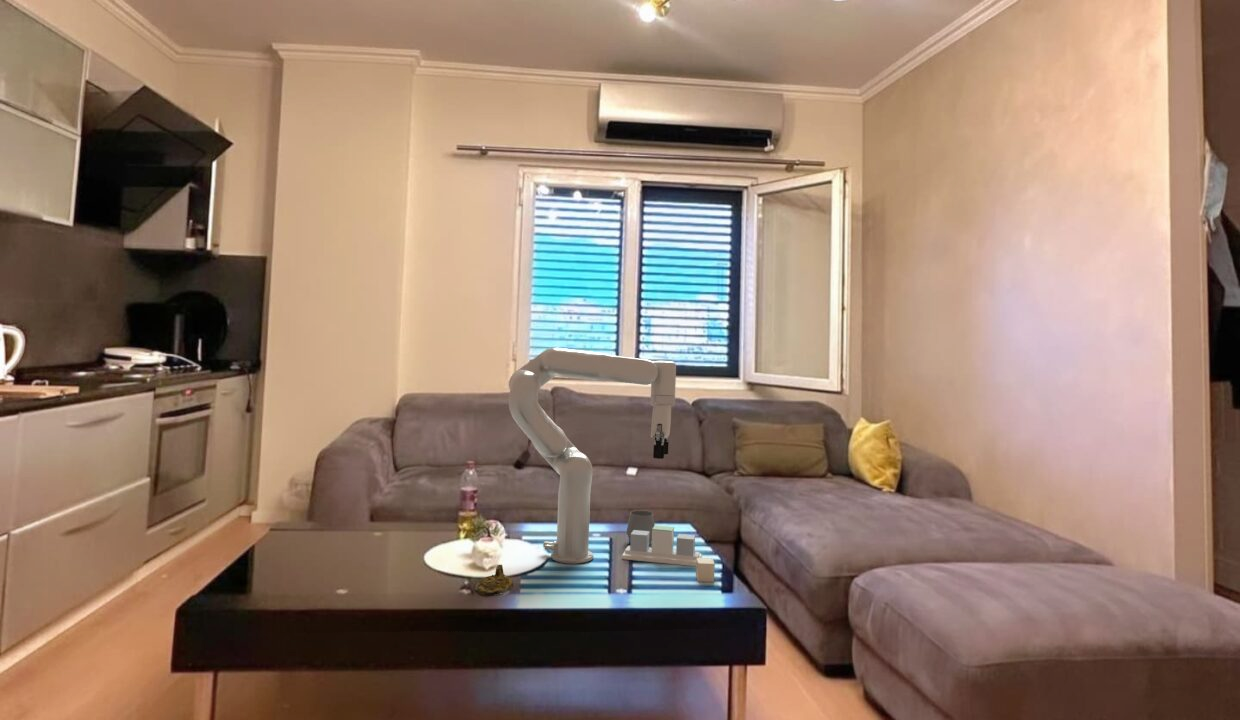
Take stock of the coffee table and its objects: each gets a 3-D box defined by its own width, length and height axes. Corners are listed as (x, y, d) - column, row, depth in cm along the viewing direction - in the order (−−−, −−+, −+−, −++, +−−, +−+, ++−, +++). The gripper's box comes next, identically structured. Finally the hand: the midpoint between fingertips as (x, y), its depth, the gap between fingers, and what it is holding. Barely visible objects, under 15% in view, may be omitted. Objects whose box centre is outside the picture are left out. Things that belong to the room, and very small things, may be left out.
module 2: (697, 581, 185) (698, 563, 185) (695, 575, 190) (696, 557, 190) (714, 582, 185) (714, 563, 185) (711, 576, 190) (712, 558, 190)
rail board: (622, 559, 203) (622, 535, 203) (627, 550, 212) (628, 527, 211) (698, 566, 198) (699, 541, 198) (701, 557, 207) (702, 534, 207)
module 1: (651, 552, 203) (652, 528, 203) (653, 548, 208) (654, 525, 208) (671, 554, 202) (672, 530, 202) (673, 550, 206) (674, 527, 206)
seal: (506, 602, 168) (516, 582, 183) (508, 584, 168) (518, 564, 183) (469, 597, 168) (482, 576, 183) (471, 578, 168) (484, 559, 183)
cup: (655, 548, 215) (656, 517, 215) (626, 547, 216) (627, 515, 216) (654, 540, 225) (655, 510, 225) (626, 539, 225) (627, 509, 225)
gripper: (654, 398, 218) (653, 451, 218) (646, 401, 201) (644, 459, 201) (678, 399, 217) (676, 453, 217) (671, 403, 200) (669, 461, 200)
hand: (660, 456), depth 209 cm, fingers open, 9 cm apart
